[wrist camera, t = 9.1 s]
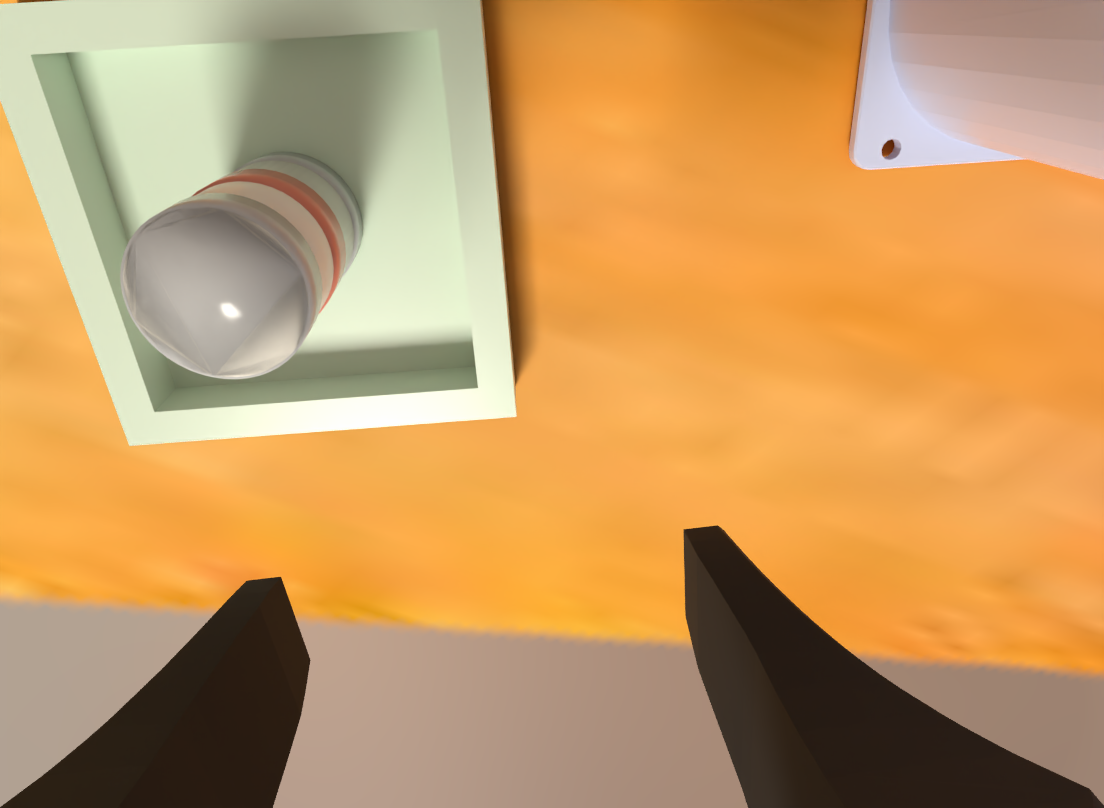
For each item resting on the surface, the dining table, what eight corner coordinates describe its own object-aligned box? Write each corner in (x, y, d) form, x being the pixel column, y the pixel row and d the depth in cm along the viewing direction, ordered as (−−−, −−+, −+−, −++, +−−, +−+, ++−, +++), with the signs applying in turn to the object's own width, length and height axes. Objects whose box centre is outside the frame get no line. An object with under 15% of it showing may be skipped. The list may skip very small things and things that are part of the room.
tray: (480, -21, 18) (477, -25, 16) (515, 387, 23) (516, 416, 21) (16, 7, 18) (-35, 6, 16) (157, 414, 23) (129, 445, 21)
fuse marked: (353, 150, 19) (294, 202, 14) (370, 284, 21) (323, 376, 15) (210, 152, 19) (95, 206, 14) (239, 287, 21) (147, 382, 15)
